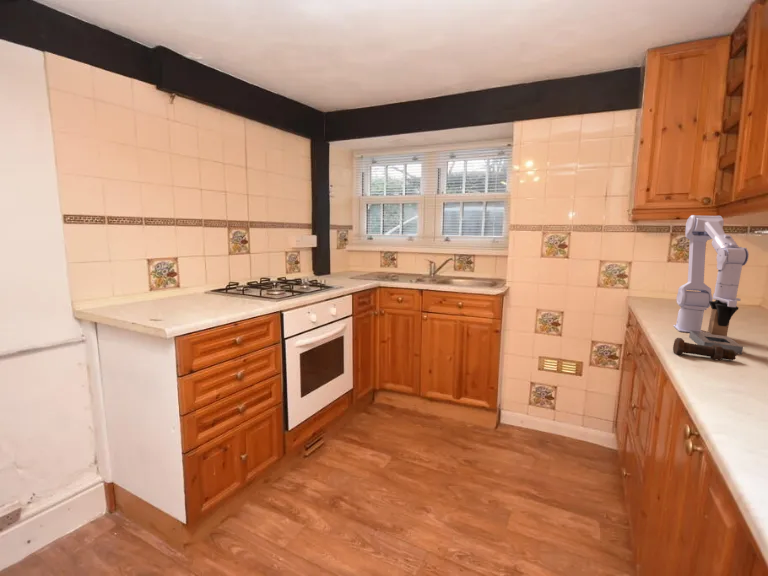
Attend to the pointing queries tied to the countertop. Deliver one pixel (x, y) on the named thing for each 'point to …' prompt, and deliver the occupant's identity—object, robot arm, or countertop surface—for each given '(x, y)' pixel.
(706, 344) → the collar plate
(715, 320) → the pin
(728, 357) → the bolt
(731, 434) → the countertop surface
